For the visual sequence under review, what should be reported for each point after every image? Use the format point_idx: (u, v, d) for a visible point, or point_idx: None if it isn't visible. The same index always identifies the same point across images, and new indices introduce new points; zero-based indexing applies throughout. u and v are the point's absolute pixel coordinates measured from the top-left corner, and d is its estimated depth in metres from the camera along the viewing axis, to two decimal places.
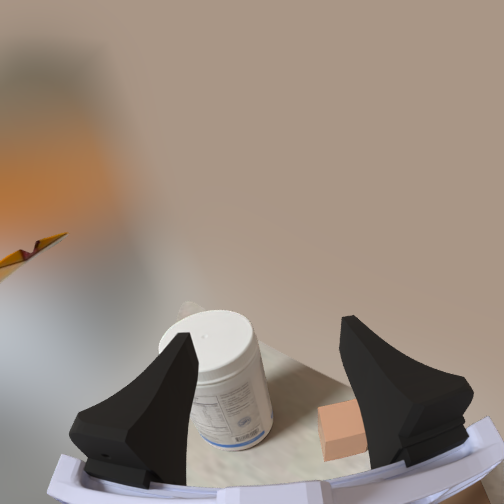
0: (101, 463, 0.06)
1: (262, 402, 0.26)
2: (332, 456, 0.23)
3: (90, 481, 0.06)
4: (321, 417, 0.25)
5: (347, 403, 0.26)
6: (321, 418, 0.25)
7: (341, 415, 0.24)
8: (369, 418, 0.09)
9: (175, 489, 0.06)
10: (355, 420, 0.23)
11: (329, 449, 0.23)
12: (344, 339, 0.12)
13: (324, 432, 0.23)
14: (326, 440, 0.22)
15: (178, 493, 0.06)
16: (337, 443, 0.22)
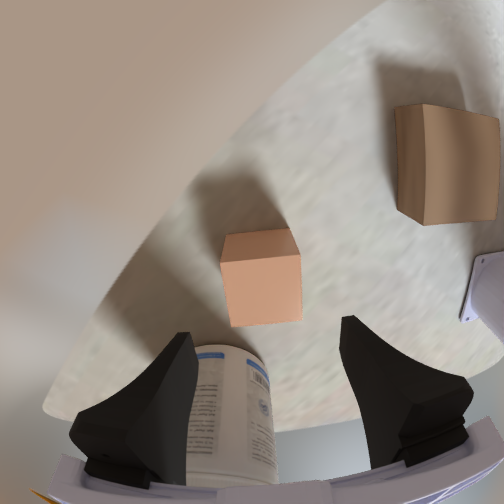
0: (101, 463, 0.06)
1: (235, 401, 0.19)
2: None
3: (90, 481, 0.06)
4: (253, 323, 0.18)
5: (229, 284, 0.17)
6: (255, 323, 0.18)
7: (255, 295, 0.17)
8: (369, 418, 0.09)
9: (175, 489, 0.06)
10: (271, 276, 0.17)
11: None
12: (344, 339, 0.12)
13: (284, 320, 0.18)
14: (300, 318, 0.18)
15: (178, 493, 0.06)
16: None
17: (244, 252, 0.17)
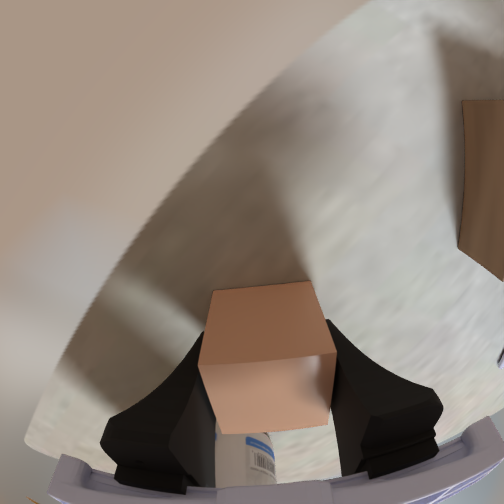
0: (133, 470, 0.06)
1: None
2: None
3: (90, 481, 0.06)
4: (255, 431, 0.11)
5: (215, 391, 0.09)
6: (258, 431, 0.11)
7: (257, 404, 0.10)
8: (339, 425, 0.09)
9: None
10: (285, 383, 0.09)
11: None
12: None
13: (300, 426, 0.11)
14: (324, 423, 0.10)
15: (178, 493, 0.06)
16: None
17: (239, 340, 0.10)
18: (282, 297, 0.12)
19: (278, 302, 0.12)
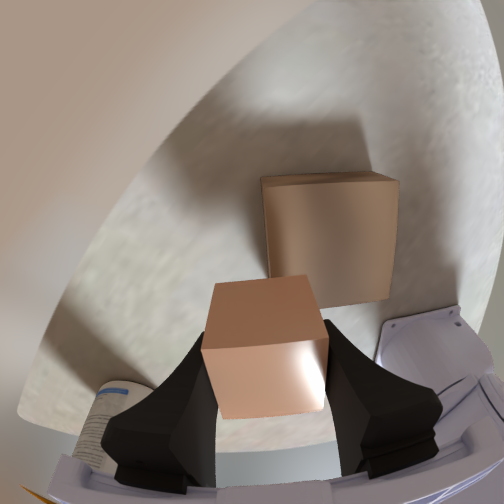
0: (133, 470, 0.06)
1: None
2: None
3: (90, 481, 0.06)
4: (254, 416, 0.11)
5: (217, 376, 0.10)
6: (257, 416, 0.12)
7: (256, 388, 0.11)
8: (339, 425, 0.09)
9: None
10: (281, 367, 0.10)
11: None
12: None
13: (297, 412, 0.11)
14: (320, 409, 0.11)
15: (178, 493, 0.06)
16: None
17: (239, 327, 0.11)
18: (279, 289, 0.13)
19: (275, 293, 0.13)
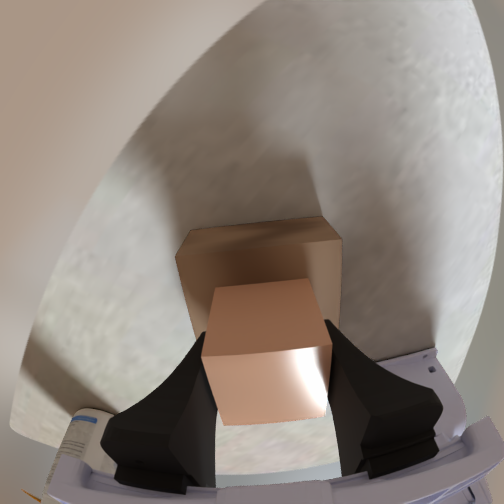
0: (133, 470, 0.06)
1: (93, 458, 0.19)
2: None
3: (90, 481, 0.06)
4: (255, 422, 0.11)
5: (217, 383, 0.10)
6: (258, 422, 0.11)
7: (257, 395, 0.10)
8: (339, 425, 0.09)
9: None
10: (284, 374, 0.10)
11: None
12: None
13: (299, 418, 0.11)
14: (322, 415, 0.11)
15: (178, 493, 0.06)
16: None
17: (240, 333, 0.11)
18: (281, 293, 0.13)
19: (277, 298, 0.13)
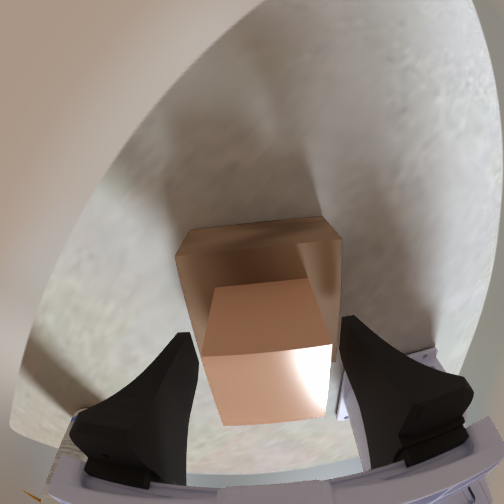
0: (101, 463, 0.06)
1: None
2: None
3: (90, 481, 0.06)
4: (255, 422, 0.11)
5: (217, 383, 0.10)
6: (258, 422, 0.11)
7: (257, 395, 0.10)
8: (369, 418, 0.09)
9: (175, 489, 0.06)
10: (283, 374, 0.10)
11: None
12: (344, 339, 0.12)
13: (299, 418, 0.11)
14: (322, 415, 0.11)
15: (178, 493, 0.06)
16: None
17: (239, 333, 0.11)
18: (281, 293, 0.13)
19: (277, 298, 0.13)
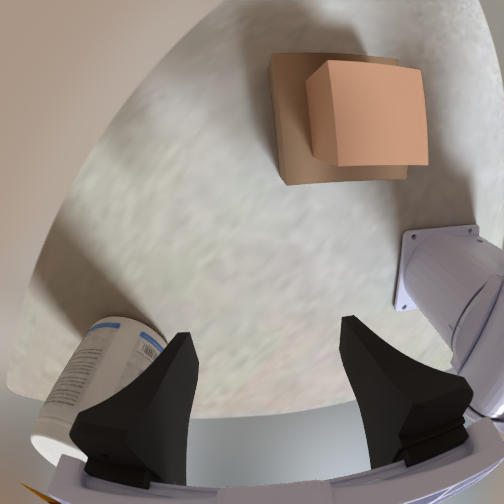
0: (101, 463, 0.06)
1: (112, 365, 0.18)
2: None
3: (90, 481, 0.06)
4: (370, 162, 0.11)
5: (339, 92, 0.10)
6: (372, 162, 0.11)
7: (373, 114, 0.10)
8: (369, 418, 0.09)
9: (175, 489, 0.06)
10: (392, 90, 0.10)
11: None
12: (344, 339, 0.12)
13: (407, 162, 0.11)
14: (426, 163, 0.11)
15: (178, 493, 0.06)
16: None
17: None
18: None
19: None
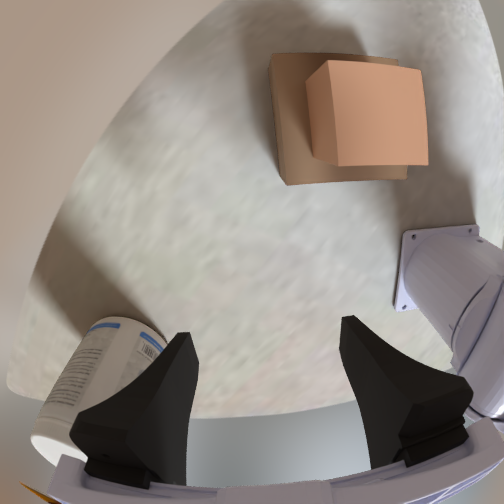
0: (101, 463, 0.06)
1: (112, 365, 0.18)
2: None
3: (90, 481, 0.06)
4: (370, 162, 0.11)
5: (339, 92, 0.10)
6: (372, 162, 0.11)
7: (373, 114, 0.10)
8: (369, 418, 0.09)
9: (175, 489, 0.06)
10: (392, 90, 0.10)
11: None
12: (344, 339, 0.12)
13: (407, 162, 0.11)
14: (426, 162, 0.11)
15: (178, 493, 0.06)
16: None
17: None
18: None
19: None
